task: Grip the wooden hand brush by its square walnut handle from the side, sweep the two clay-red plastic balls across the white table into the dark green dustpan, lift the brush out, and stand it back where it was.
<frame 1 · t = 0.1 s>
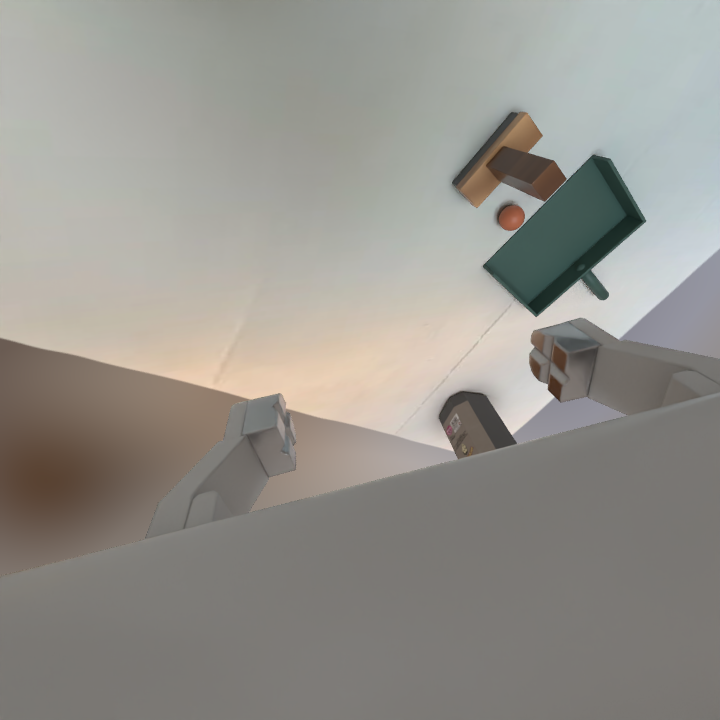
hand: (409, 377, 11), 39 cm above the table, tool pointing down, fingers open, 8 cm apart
brush: (488, 159, 45), on the table
dustpan: (554, 240, 53), on the table
ball 2: (505, 214, 49), on the table
liquor: (462, 407, 73), on the table
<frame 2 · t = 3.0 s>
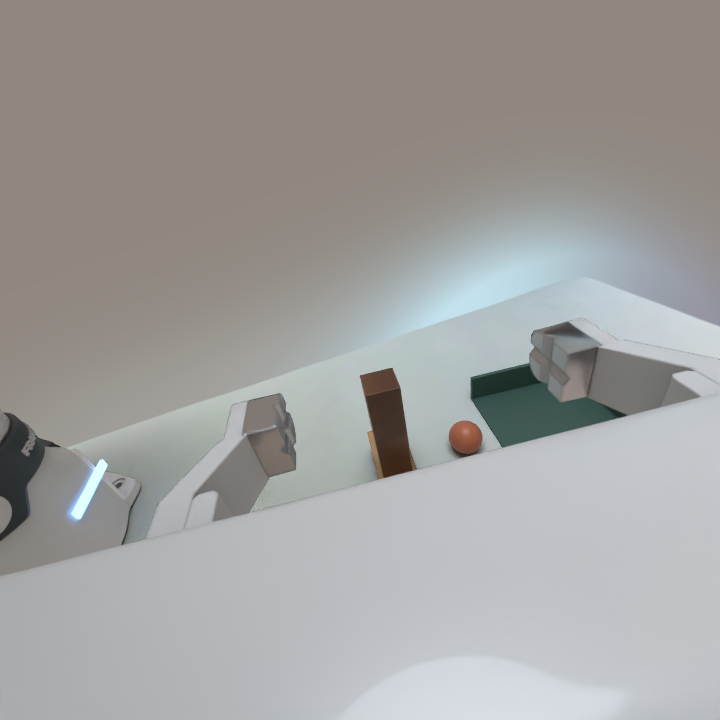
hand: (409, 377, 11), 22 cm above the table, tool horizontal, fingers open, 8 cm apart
brush: (399, 487, 34), on the table
dustpan: (570, 444, 34), on the table
ball 1: (465, 447, 36), on the table
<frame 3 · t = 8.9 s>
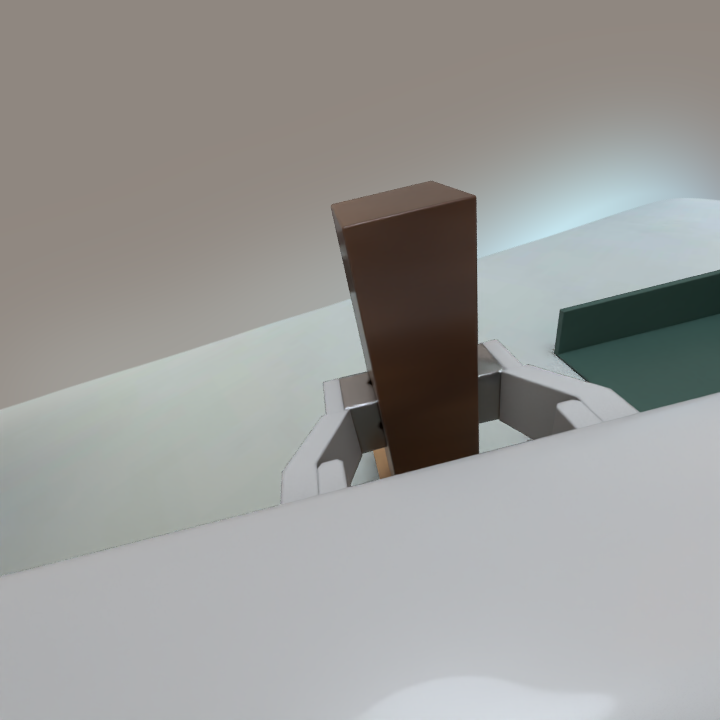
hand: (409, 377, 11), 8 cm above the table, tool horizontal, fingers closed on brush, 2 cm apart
brush: (436, 532, 15), on the table, touching gripper
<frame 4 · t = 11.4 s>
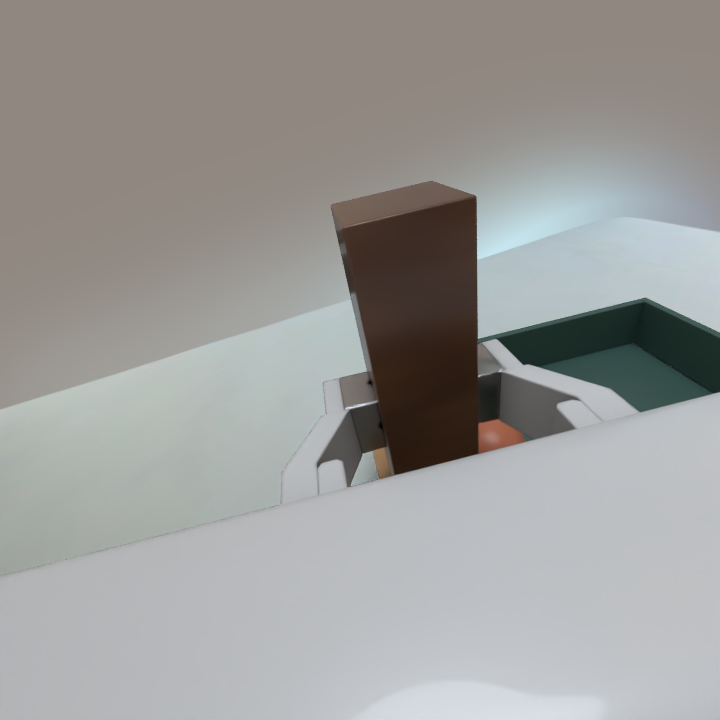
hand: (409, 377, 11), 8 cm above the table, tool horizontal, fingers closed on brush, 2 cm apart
brush: (436, 532, 15), point 1 cm above the table, touching gripper
dustpan: (664, 479, 16), on the table
ball 1: (457, 454, 17), point 2 cm above the table, tilted 98°
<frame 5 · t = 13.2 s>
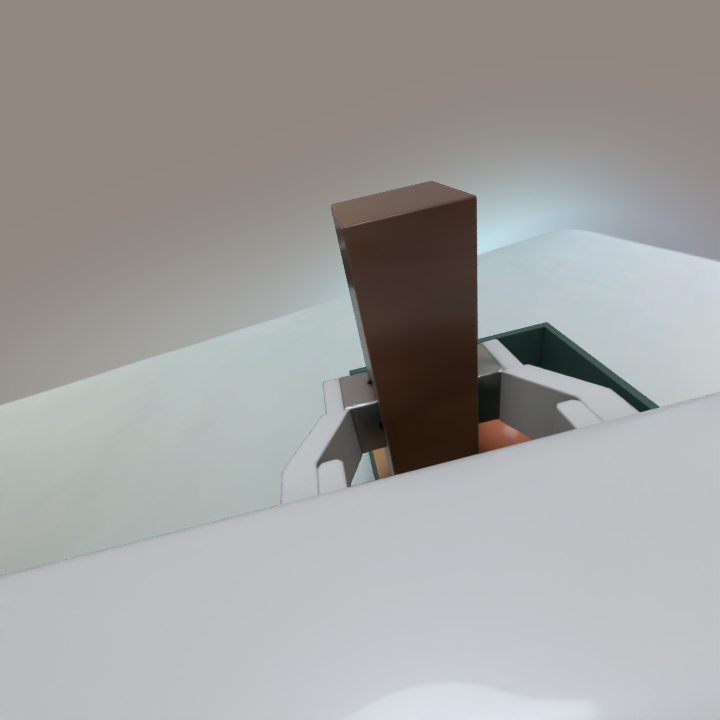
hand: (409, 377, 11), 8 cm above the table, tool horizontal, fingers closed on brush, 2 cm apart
brush: (436, 532, 15), point 1 cm above the table, touching gripper
dustpan: (525, 515, 15), on the table
ball 1: (509, 464, 18), resting on dustpan
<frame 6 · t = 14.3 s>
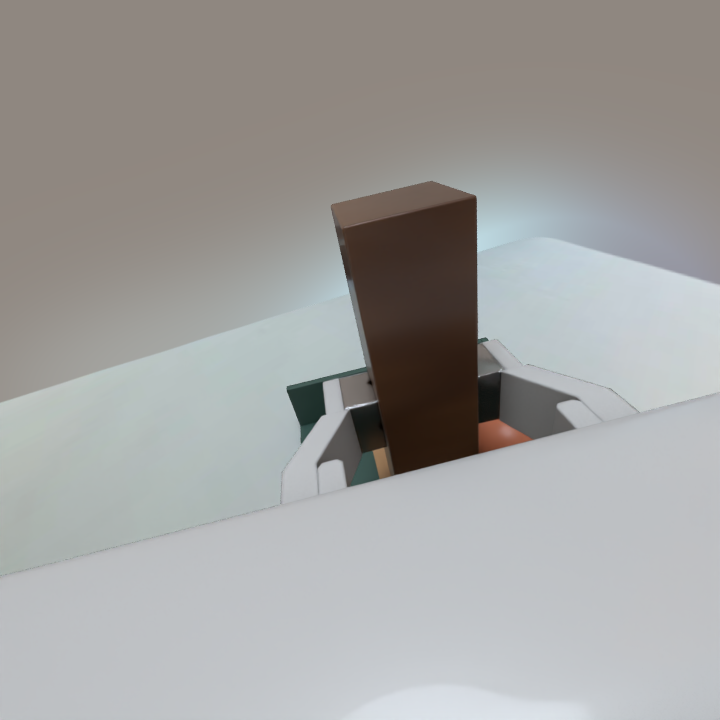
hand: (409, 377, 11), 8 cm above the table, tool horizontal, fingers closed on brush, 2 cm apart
brush: (436, 532, 15), point 1 cm above the table, touching gripper
dustpan: (440, 538, 15), on the table
ball 1: (481, 433, 16), point 3 cm above the table, tilted 131°, touching dustpan
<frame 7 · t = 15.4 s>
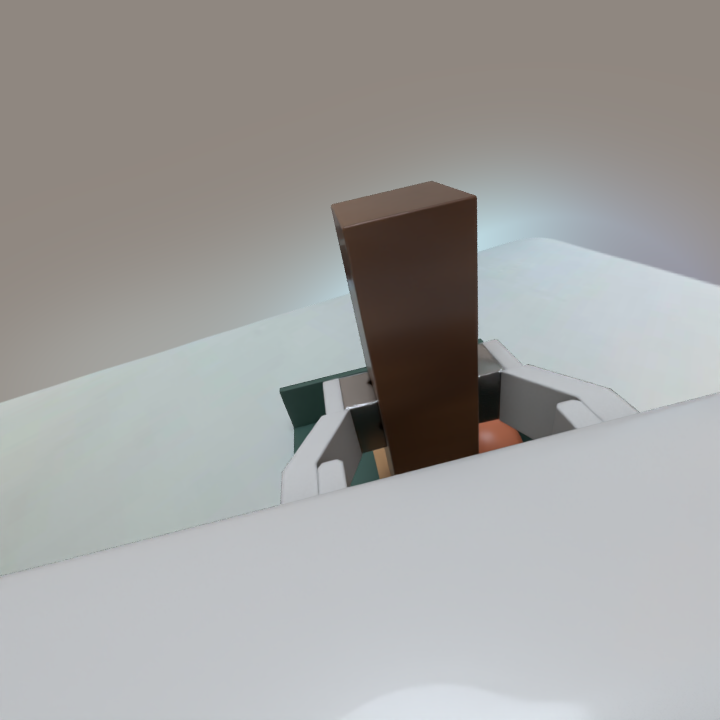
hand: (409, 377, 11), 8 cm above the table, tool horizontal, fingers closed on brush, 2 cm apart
brush: (436, 532, 15), point 1 cm above the table, touching gripper
dustpan: (431, 542, 15), on the table
ball 1: (454, 449, 16), point 2 cm above the table, tilted 108°, touching dustpan
when the fingers open (7 cm above the table, at t = 21.7 s): brush stays where it is, on the table.
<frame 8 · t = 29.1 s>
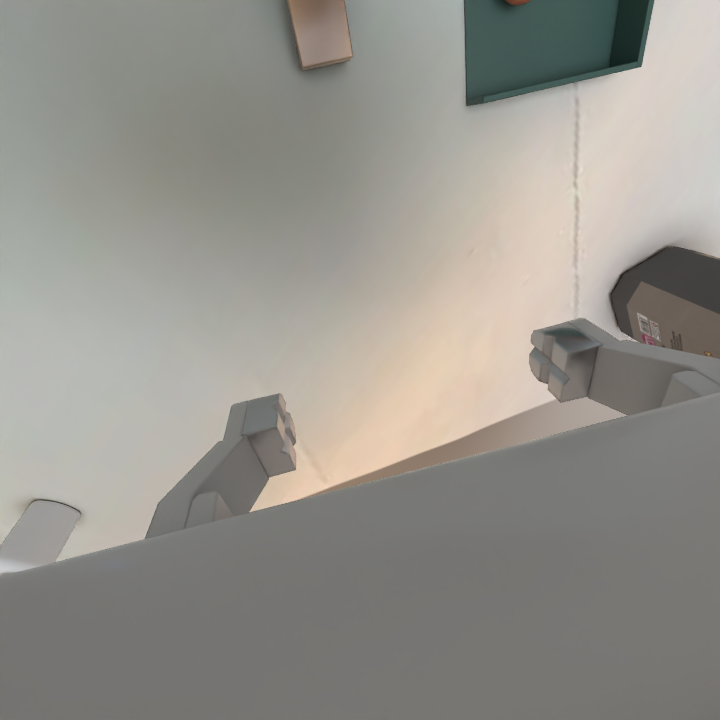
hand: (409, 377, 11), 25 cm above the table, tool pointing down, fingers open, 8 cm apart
eye dropper bottle: (56, 508, 46), on the table
liquor: (647, 289, 42), on the table
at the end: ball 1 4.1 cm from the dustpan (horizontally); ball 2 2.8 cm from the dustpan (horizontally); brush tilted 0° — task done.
